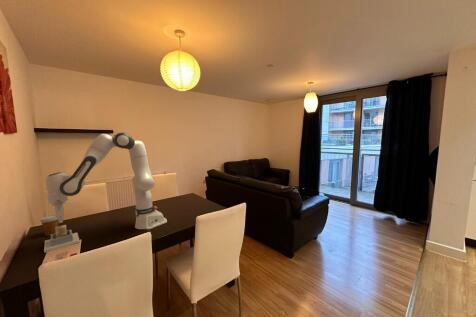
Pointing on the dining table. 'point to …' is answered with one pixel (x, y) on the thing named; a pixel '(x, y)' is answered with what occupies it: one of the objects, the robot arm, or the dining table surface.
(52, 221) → the disposable coffee cup
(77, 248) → the dining table surface
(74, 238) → the chute mount
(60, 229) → the chute block
